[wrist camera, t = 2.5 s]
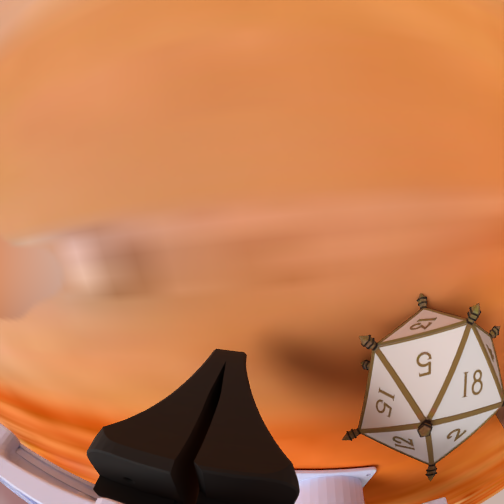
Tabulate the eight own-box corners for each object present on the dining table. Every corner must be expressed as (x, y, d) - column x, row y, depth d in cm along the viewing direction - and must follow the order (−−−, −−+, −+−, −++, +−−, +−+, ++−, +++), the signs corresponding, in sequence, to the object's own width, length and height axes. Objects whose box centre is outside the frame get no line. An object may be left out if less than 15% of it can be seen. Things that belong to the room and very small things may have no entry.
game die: (409, 288, 17) (547, 296, 8) (392, 404, 17) (510, 442, 8) (305, 292, 13) (532, 317, 4) (290, 445, 13) (439, 541, 4)
